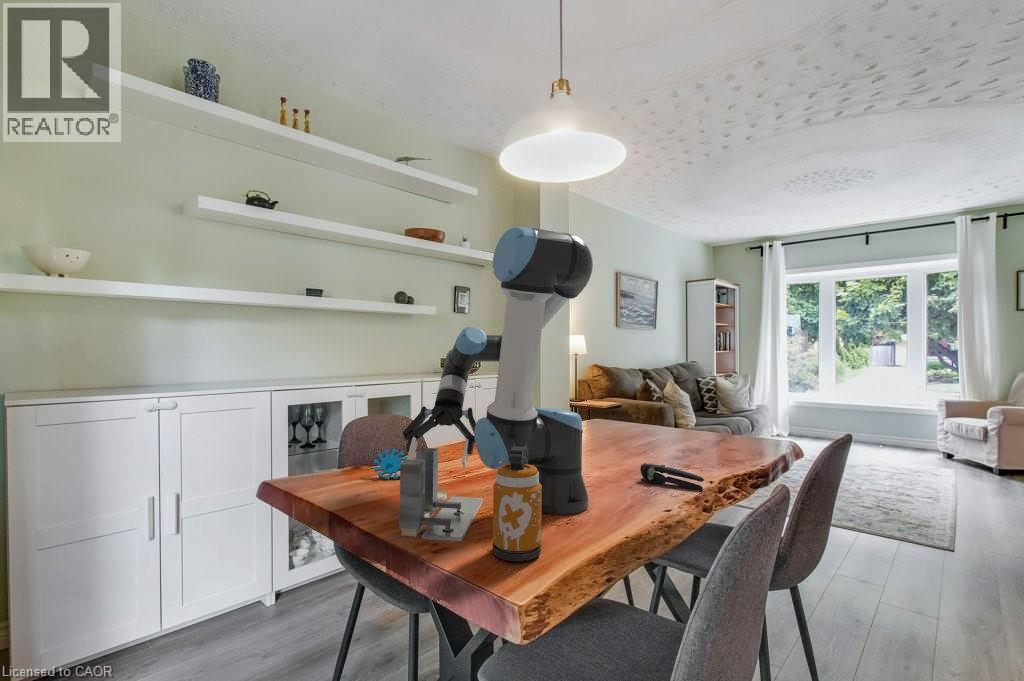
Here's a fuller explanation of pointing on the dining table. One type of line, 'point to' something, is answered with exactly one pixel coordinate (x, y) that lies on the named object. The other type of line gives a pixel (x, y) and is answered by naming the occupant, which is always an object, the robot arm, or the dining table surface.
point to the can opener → (655, 477)
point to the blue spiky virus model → (389, 464)
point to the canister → (517, 508)
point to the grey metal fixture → (416, 499)
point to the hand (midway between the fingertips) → (436, 463)
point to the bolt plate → (454, 520)
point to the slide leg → (433, 480)
